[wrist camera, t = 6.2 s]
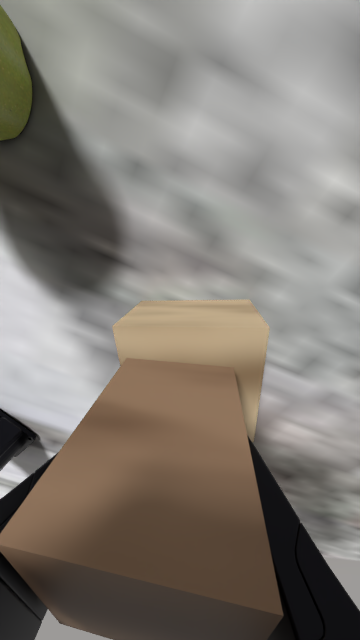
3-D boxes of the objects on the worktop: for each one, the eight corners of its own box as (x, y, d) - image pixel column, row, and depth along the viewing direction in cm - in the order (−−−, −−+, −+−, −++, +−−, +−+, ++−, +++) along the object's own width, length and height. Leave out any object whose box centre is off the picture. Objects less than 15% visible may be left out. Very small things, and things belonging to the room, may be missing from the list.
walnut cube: (223, 442, 10) (240, 677, 5) (135, 430, 11) (60, 623, 5) (233, 367, 8) (283, 616, 3) (126, 357, 9) (-8, 543, 3)
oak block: (240, 386, 16) (253, 442, 12) (153, 381, 18) (134, 430, 13) (248, 298, 13) (269, 327, 9) (142, 300, 15) (112, 326, 10)
